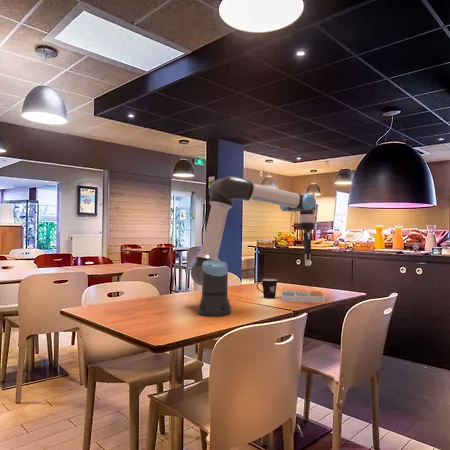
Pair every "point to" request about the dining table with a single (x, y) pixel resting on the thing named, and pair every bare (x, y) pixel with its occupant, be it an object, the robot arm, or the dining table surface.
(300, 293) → the tile two
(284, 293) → the tile one
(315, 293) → the tile three
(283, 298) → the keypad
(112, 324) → the dining table surface
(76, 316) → the dining table surface
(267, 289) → the coffee mug
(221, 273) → the robot arm
